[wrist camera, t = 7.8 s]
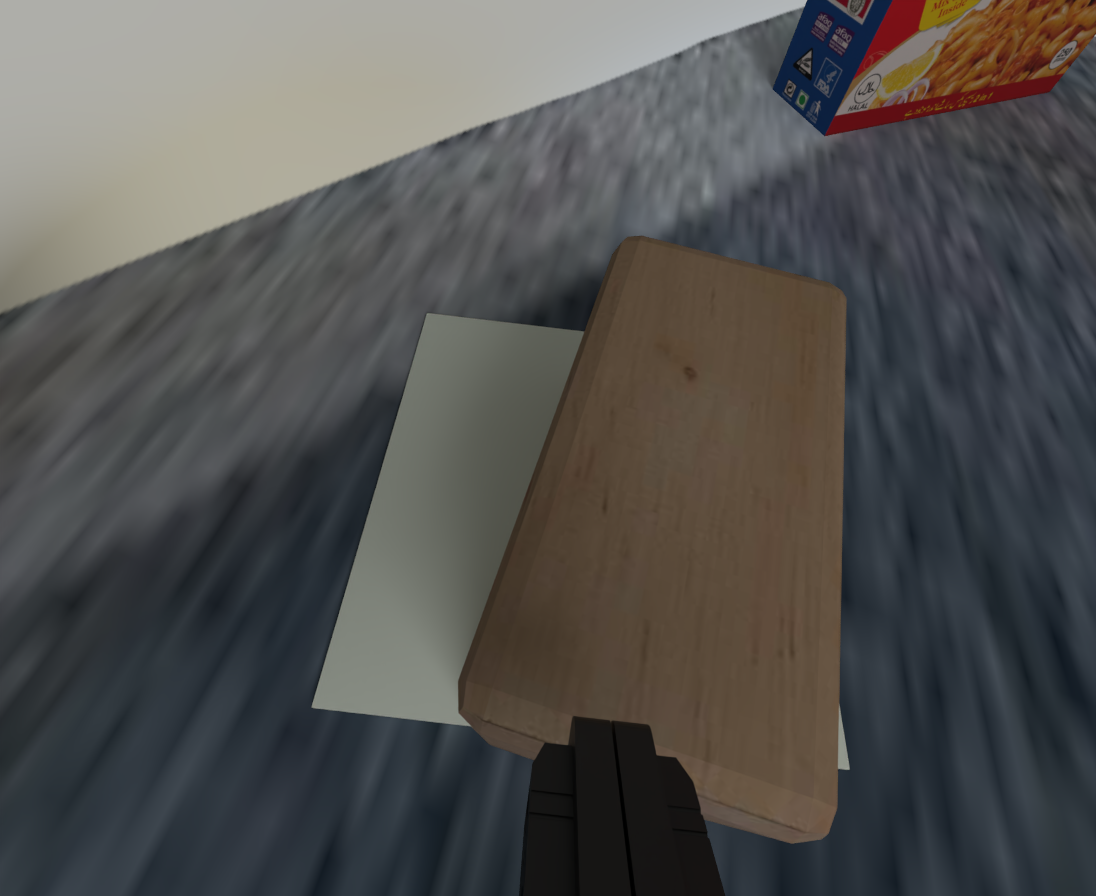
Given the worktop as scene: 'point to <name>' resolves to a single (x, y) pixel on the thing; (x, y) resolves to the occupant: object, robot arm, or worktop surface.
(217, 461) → the worktop surface
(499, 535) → the mat
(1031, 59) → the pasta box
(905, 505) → the worktop surface
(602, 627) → the wooden block
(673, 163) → the worktop surface
